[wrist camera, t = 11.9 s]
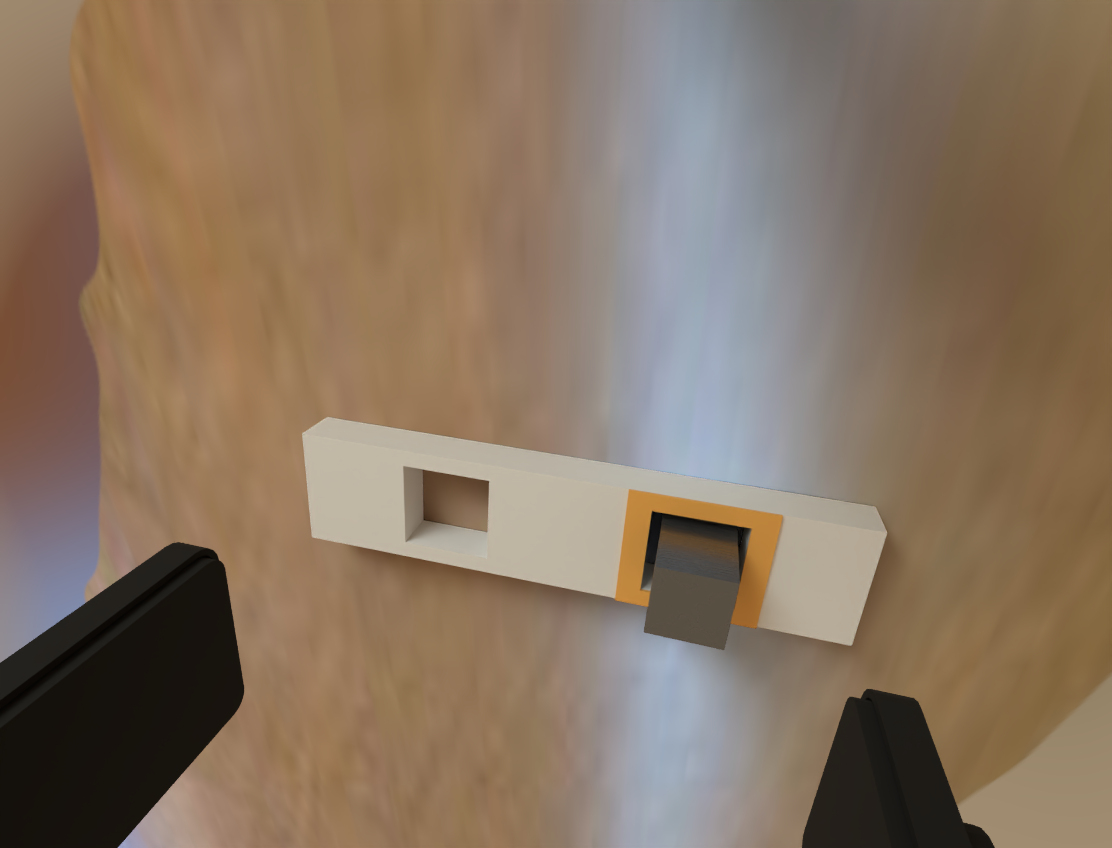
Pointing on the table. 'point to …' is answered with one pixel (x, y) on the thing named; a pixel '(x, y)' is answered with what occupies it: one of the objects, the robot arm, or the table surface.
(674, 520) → the steel block
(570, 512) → the rail
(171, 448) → the table surface
